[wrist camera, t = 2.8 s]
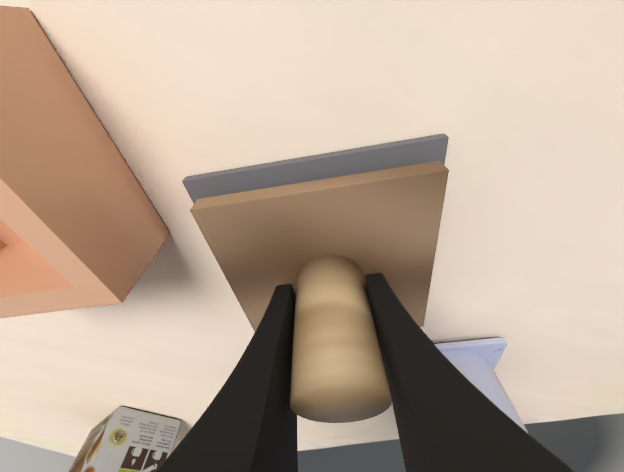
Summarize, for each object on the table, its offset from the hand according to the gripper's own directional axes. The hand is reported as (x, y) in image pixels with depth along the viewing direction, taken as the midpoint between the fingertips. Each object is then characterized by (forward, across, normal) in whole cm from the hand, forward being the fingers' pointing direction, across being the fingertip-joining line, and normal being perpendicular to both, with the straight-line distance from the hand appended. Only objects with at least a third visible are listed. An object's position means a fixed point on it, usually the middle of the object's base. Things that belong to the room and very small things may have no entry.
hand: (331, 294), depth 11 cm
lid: (+2, 0, 0) cm, 2 cm away
